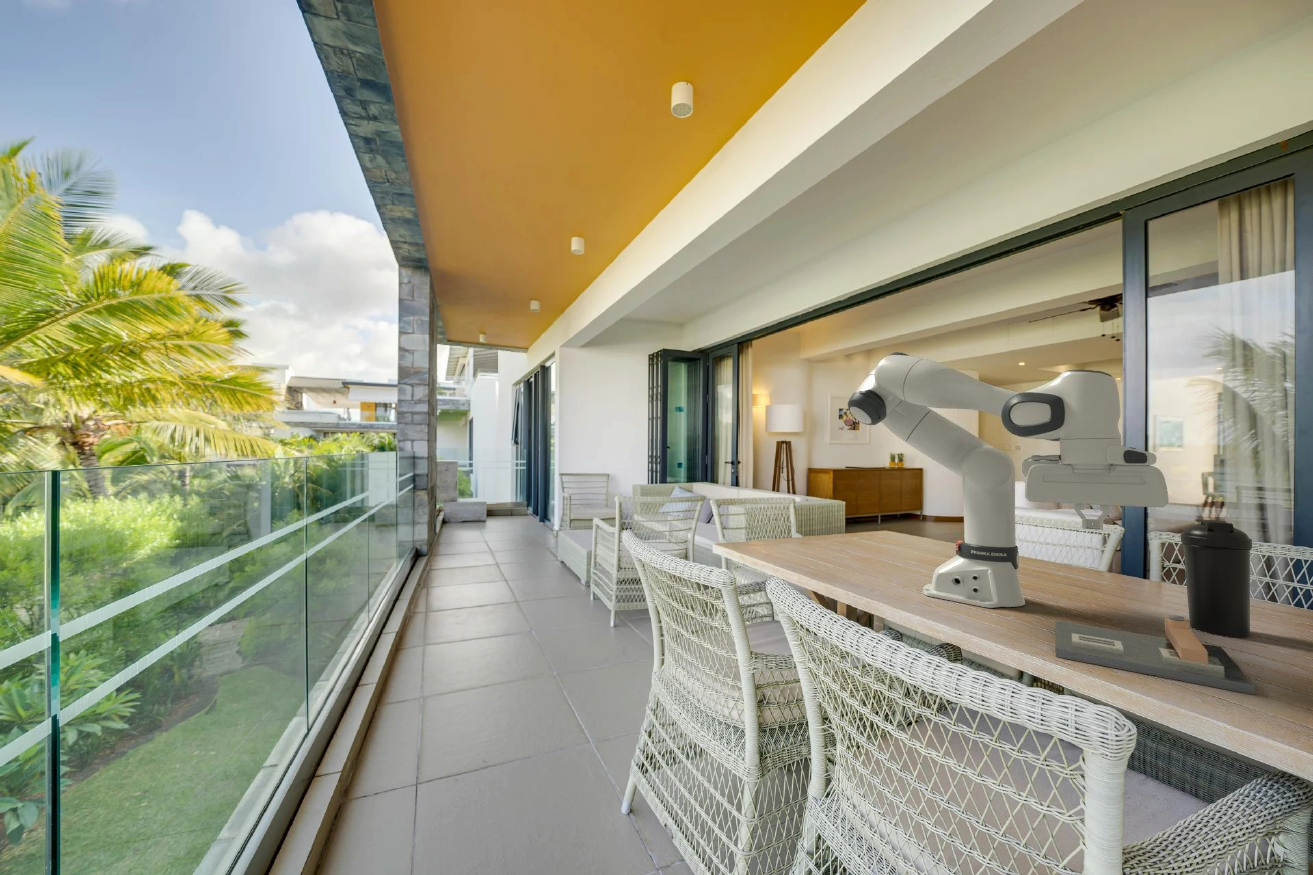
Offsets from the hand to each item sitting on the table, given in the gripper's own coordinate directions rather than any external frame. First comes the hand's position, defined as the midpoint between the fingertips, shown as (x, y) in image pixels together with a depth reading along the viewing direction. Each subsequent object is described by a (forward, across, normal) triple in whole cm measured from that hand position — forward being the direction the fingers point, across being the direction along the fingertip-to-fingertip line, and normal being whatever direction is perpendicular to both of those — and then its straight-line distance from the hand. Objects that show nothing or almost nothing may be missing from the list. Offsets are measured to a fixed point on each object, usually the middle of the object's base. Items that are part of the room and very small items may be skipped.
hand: (1092, 528), depth 94 cm
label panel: (+23, +6, +4) cm, 24 cm away
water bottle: (+23, +21, +33) cm, 46 cm away
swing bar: (+21, +12, +4) cm, 25 cm away
